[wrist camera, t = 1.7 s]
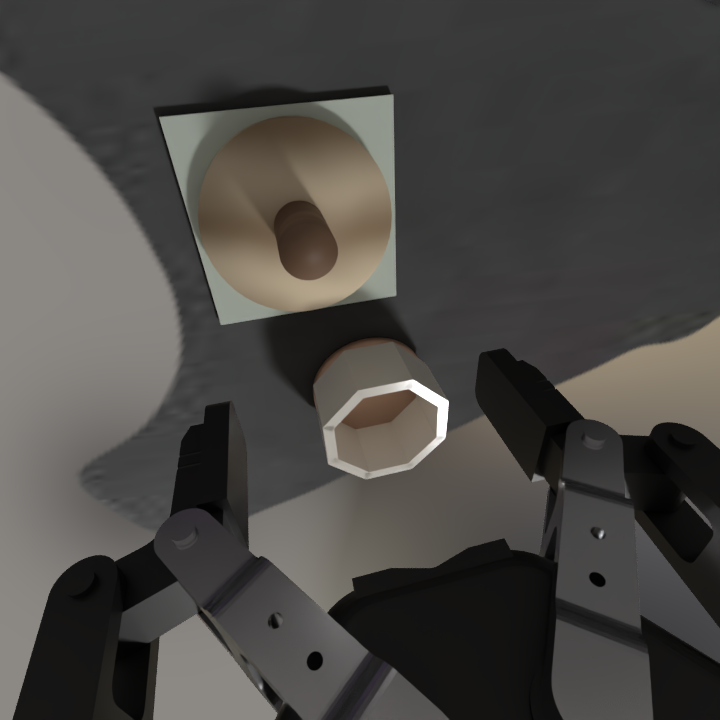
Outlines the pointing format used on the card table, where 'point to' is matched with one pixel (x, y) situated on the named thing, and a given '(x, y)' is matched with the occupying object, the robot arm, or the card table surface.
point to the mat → (213, 129)
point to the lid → (294, 213)
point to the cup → (378, 408)
